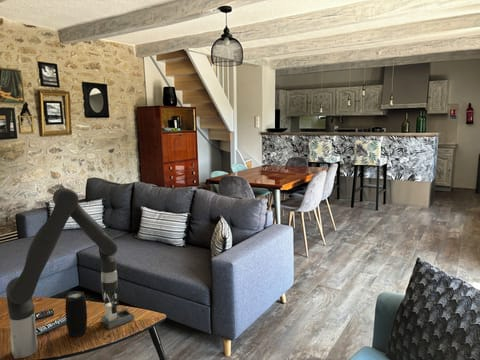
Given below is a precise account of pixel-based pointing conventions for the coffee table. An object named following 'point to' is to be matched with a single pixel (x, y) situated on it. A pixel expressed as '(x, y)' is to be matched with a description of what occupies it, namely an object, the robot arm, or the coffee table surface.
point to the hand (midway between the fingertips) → (110, 310)
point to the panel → (118, 319)
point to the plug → (110, 312)
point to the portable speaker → (76, 313)
